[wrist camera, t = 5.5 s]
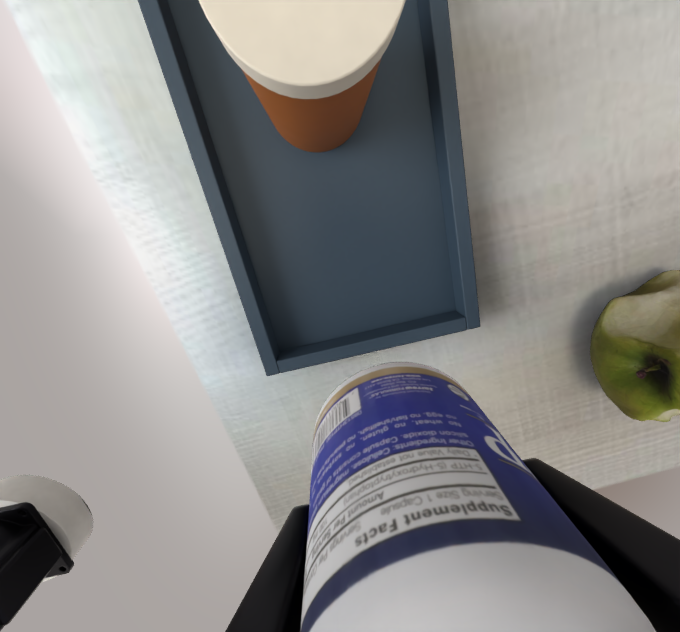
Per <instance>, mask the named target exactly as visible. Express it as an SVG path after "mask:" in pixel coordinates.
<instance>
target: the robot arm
mask: <svg viewBox="0 0 680 632" xmlns="http://www.w3.org/2000/svg"><path fill="white" fill-rule="evenodd" d="M522 461H523V462H524V464H525V465H526V466H527V467H528V469H529V470H530V471H531V473H532V474H533V475H534V476H535V477H536V479H537V480H538V481H539V482H540V484H541V485H542V486H543V487H544V488H545V490H546V491H547V492H548V493H549V494H550V496H551V497H552V498H553V499H554V501H555V502H556V503H557V504H558V506H559V507H560V508H561V509H562V511H563V512H564V513H565V514H566V515H567V517H568V518H569V519H570V520H571V522H572V523H573V524H574V525H575V527H576V528H577V529H578V530H579V532H580V533H581V534H582V535H583V536H584V538H585V539H586V540H587V541H588V542H589V544H590V545H591V546H592V547H593V549H594V550H595V551H596V552H597V553H598V555H599V556H600V557H601V558H602V560H603V561H604V562H605V563H606V565H607V566H608V567H609V568H610V570H611V571H612V572H613V573H614V575H615V576H616V577H617V579H618V580H619V581H620V583H621V584H622V585H623V586H624V588H625V589H626V590H627V591H628V593H629V594H630V595H631V596H632V598H633V600H634V601H635V602H636V603H637V605H638V606H639V607H640V609H641V610H642V611H643V613H644V614H645V615H646V617H647V618H648V619H649V621H650V622H651V624H652V626H653V627H654V629H655V631H656V632H680V540H679V539H677V538H675V537H674V536H672V535H670V534H668V533H667V532H665V531H663V530H661V529H660V528H658V527H656V526H654V525H652V524H651V523H649V522H647V521H646V520H644V519H642V518H640V517H639V516H637V515H635V514H633V513H631V512H630V511H628V510H626V509H625V508H623V507H621V506H619V505H618V504H616V503H614V502H612V501H611V500H609V499H607V498H605V497H604V496H602V495H600V494H598V493H597V492H595V491H593V490H591V489H590V488H588V487H586V486H584V485H583V484H581V483H579V482H577V481H576V480H574V479H572V478H570V477H569V476H567V475H565V474H563V473H562V472H560V471H558V470H556V469H555V468H553V467H551V466H549V465H548V464H546V463H544V462H542V461H541V460H539V459H536V458H531V459H526V460H522ZM308 520H309V505H308V504H306V505H301V506H296V507H294V508H293V509H292V511H291V513H290V514H289V516H288V518H287V520H286V522H285V524H284V525H283V527H282V529H281V531H280V533H279V535H278V537H277V538H276V540H275V542H274V544H273V546H272V548H271V549H270V551H269V553H268V555H267V557H266V558H265V560H264V562H263V564H262V566H261V567H260V569H259V571H258V573H257V575H256V577H255V579H254V581H253V582H252V584H251V586H250V588H249V589H248V591H247V593H246V595H245V597H244V599H243V600H242V602H241V604H240V606H239V608H238V609H237V612H236V613H235V615H234V617H233V619H232V621H231V622H230V624H229V626H228V628H227V630H226V631H225V632H300V628H301V615H302V601H303V589H304V575H305V563H306V549H307V535H308ZM73 566H74V562H73V560H72V559H71V558H70V556H69V555H68V553H67V552H66V550H65V549H64V548H63V546H62V545H61V543H60V542H59V541H58V539H57V538H56V536H55V535H54V533H53V532H52V531H51V529H50V528H49V526H48V525H47V523H46V522H45V521H44V519H43V518H42V516H41V515H40V513H39V512H38V511H37V509H36V508H35V506H34V505H33V504H31V503H28V502H23V503H18V504H14V505H10V506H5V507H1V508H0V631H1V630H2V628H3V627H4V626H5V625H7V624H8V623H10V622H11V620H12V619H13V618H14V617H15V615H16V614H17V613H18V611H19V610H20V609H21V608H22V606H23V605H24V604H25V602H26V601H27V600H28V599H29V597H30V596H31V595H32V593H33V592H34V591H35V590H36V588H37V587H38V586H39V584H40V583H41V582H42V581H43V579H44V578H48V577H53V576H57V575H62V574H66V573H69V571H70V570H71V569H72V567H73Z"/></svg>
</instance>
